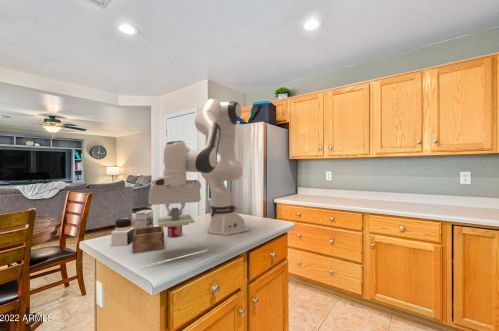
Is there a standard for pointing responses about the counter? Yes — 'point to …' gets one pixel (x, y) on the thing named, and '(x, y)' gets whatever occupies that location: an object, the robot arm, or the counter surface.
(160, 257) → the counter surface
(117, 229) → the medicine bottle
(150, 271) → the counter surface
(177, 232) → the soda can
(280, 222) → the counter surface
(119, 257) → the counter surface
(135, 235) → the crate
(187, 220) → the lid
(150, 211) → the syrup box
